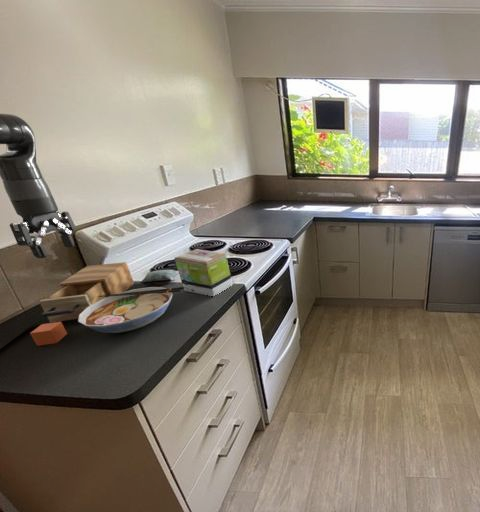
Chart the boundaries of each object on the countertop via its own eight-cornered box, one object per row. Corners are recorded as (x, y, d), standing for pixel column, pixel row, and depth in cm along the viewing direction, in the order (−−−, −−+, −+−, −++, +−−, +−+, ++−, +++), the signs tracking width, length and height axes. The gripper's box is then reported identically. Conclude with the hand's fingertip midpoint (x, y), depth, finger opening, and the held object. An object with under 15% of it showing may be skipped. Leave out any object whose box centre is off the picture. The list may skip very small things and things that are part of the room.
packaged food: (151, 278, 122) (148, 268, 120) (182, 275, 125) (179, 265, 123) (140, 288, 114) (136, 277, 113) (174, 285, 117) (170, 274, 115)
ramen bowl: (60, 351, 80) (47, 327, 77) (117, 307, 101) (109, 287, 98) (159, 342, 84) (150, 319, 81) (194, 302, 105) (188, 282, 102)
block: (37, 346, 82) (29, 333, 81) (48, 336, 86) (41, 324, 85) (57, 343, 84) (50, 330, 82) (67, 333, 88) (61, 321, 86)
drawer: (86, 323, 91) (76, 302, 88) (39, 330, 88) (27, 308, 85) (116, 295, 107) (109, 276, 104) (78, 300, 104) (70, 281, 101)
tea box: (183, 292, 112) (172, 257, 106) (205, 280, 120) (196, 248, 115) (213, 297, 107) (204, 261, 102) (234, 285, 116) (226, 252, 111)
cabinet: (114, 302, 105) (104, 278, 101) (70, 307, 101) (59, 283, 97) (134, 283, 118) (126, 262, 115) (96, 287, 115) (87, 265, 111)
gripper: (41, 191, 83) (65, 244, 89) (-17, 201, 70) (15, 262, 76) (70, 191, 84) (91, 243, 90) (18, 200, 71) (47, 261, 77)
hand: (56, 252), depth 83 cm, fingers open, 8 cm apart
